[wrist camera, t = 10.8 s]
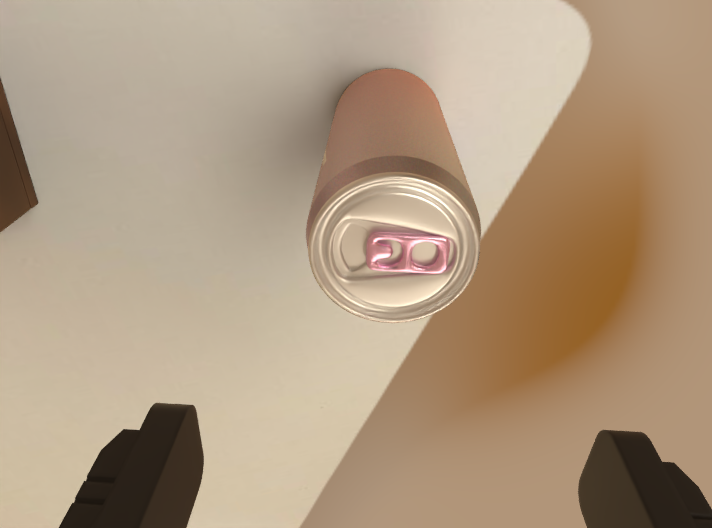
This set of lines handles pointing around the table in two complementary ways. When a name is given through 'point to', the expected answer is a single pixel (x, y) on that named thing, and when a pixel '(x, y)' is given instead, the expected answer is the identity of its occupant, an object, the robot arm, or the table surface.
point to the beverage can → (392, 204)
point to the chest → (12, 171)
